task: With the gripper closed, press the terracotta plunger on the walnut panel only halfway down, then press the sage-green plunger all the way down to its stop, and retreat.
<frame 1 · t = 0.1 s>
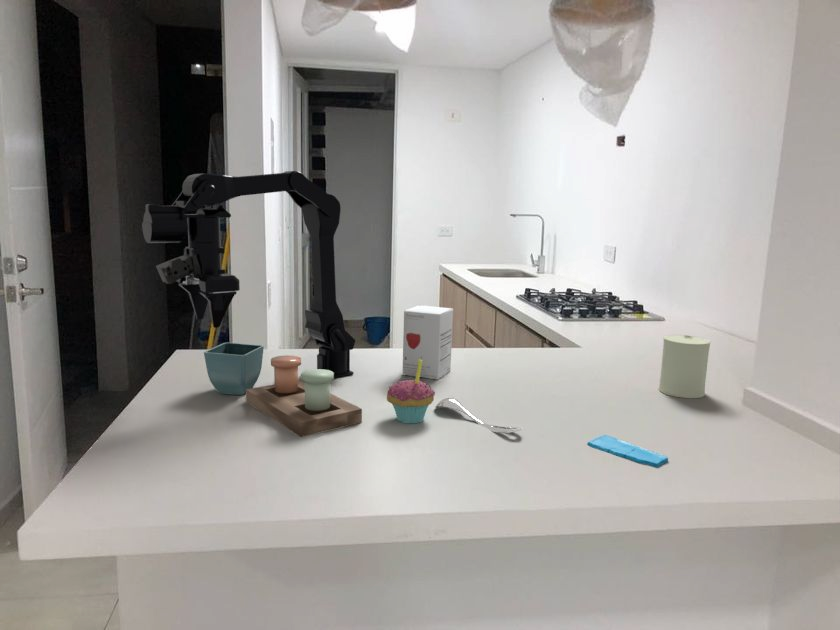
hand: (207, 323, 118), 15 cm above the countertop, tool pointing down, fingers open, 9 cm apart
flower pot: (235, 392, 124), on the countertop
blue flat block: (626, 456, 98), on the countertop
sage plunger: (317, 390, 107), point 6 cm above the countertop, slide at 0.0 cm
panel: (301, 411, 113), on the countertop
cupcake: (409, 420, 110), on the countertop
can: (681, 392, 131), on the countertop
supplement box: (426, 373, 141), on the countertop
terracotta plunger: (286, 374, 116), point 6 cm above the countertop, slide at 0.0 cm
silver spoon: (476, 424, 110), on the countertop
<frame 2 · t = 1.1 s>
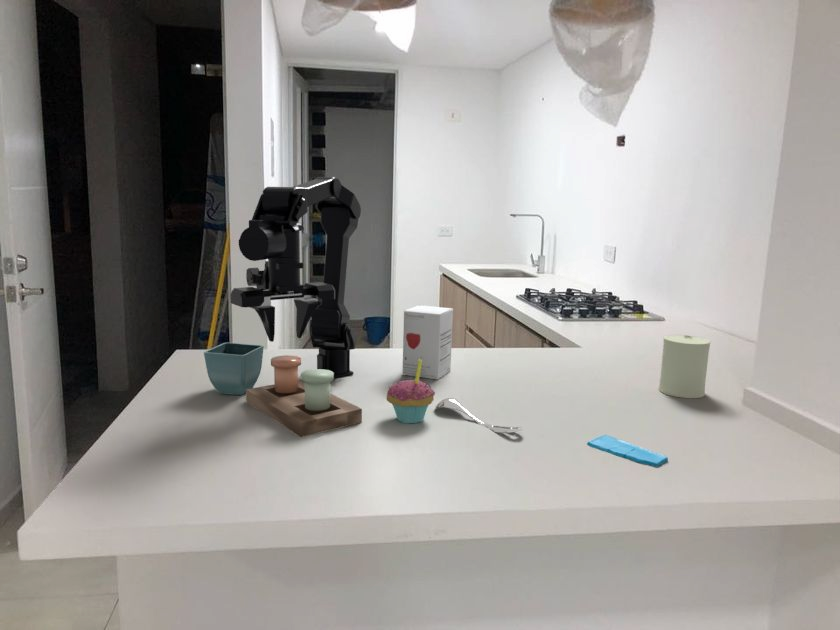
hand: (285, 339, 115), 12 cm above the countertop, tool pointing down, fingers open, 5 cm apart
nothing on the countertop moved.
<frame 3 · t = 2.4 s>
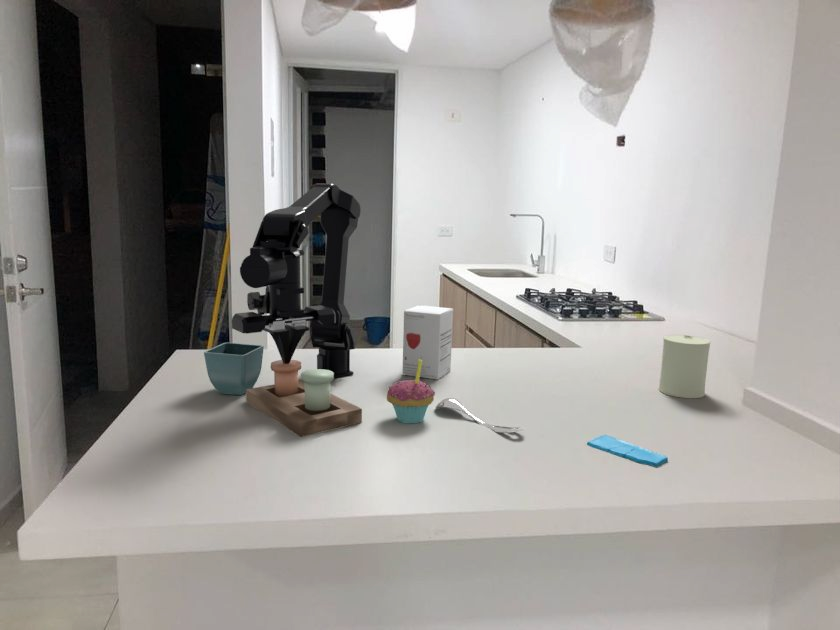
hand: (286, 363, 116), 8 cm above the countertop, tool pointing down, fingers closed, pressing on terracotta plunger
terracotta plunger: (286, 378, 116), point 5 cm above the countertop, slide at 0.8 cm, touching gripper
everything else where it was.
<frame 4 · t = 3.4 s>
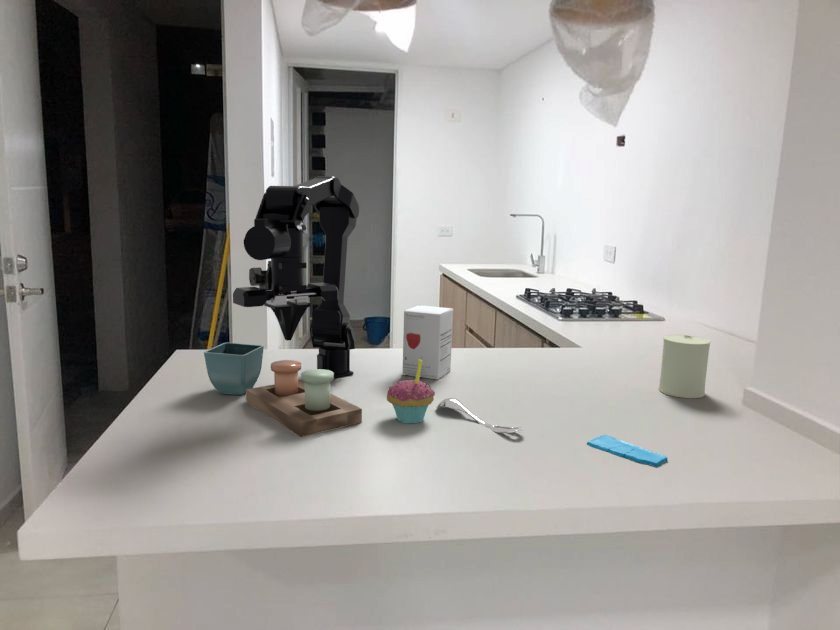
hand: (288, 340, 114), 13 cm above the countertop, tool pointing down, fingers closed
terracotta plunger: (286, 379, 116), point 5 cm above the countertop, slide at 0.9 cm
everything else where it was.
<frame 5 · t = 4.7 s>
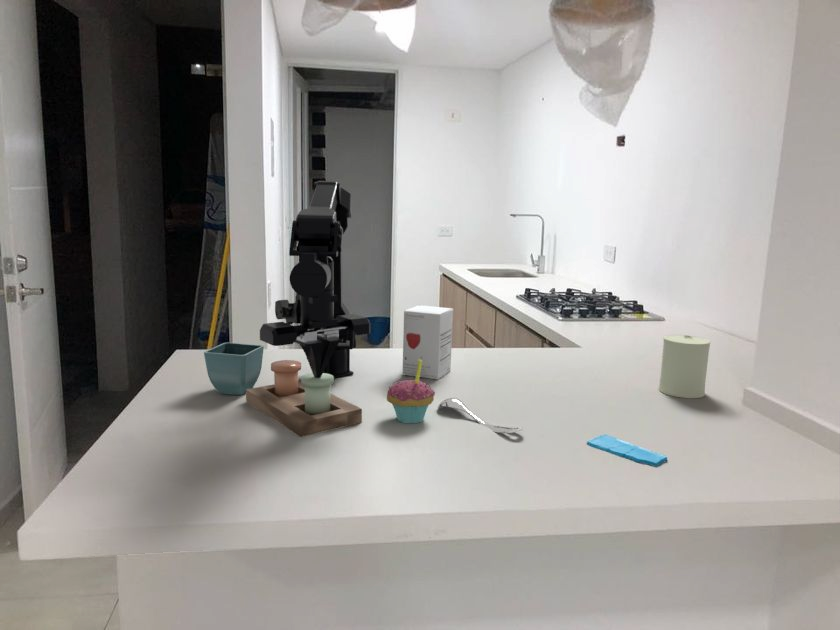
hand: (317, 377, 107), 8 cm above the countertop, tool pointing down, fingers closed, pressing on sage plunger
sage plunger: (317, 393, 107), point 5 cm above the countertop, slide at 0.7 cm, touching gripper
everything else where it was.
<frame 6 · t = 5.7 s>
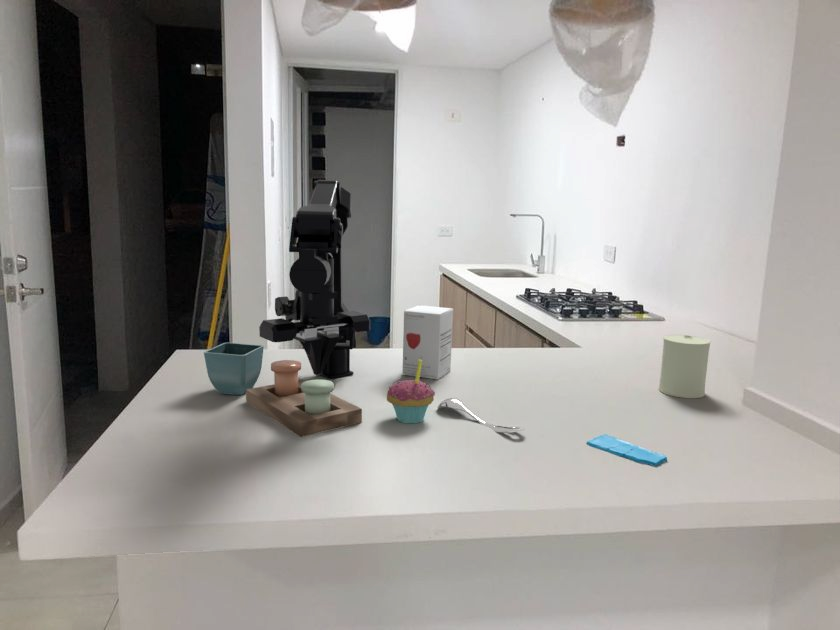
hand: (317, 374, 106), 9 cm above the countertop, tool pointing down, fingers closed
sage plunger: (317, 400, 107), point 4 cm above the countertop, slide at 1.9 cm
everything else where it was.
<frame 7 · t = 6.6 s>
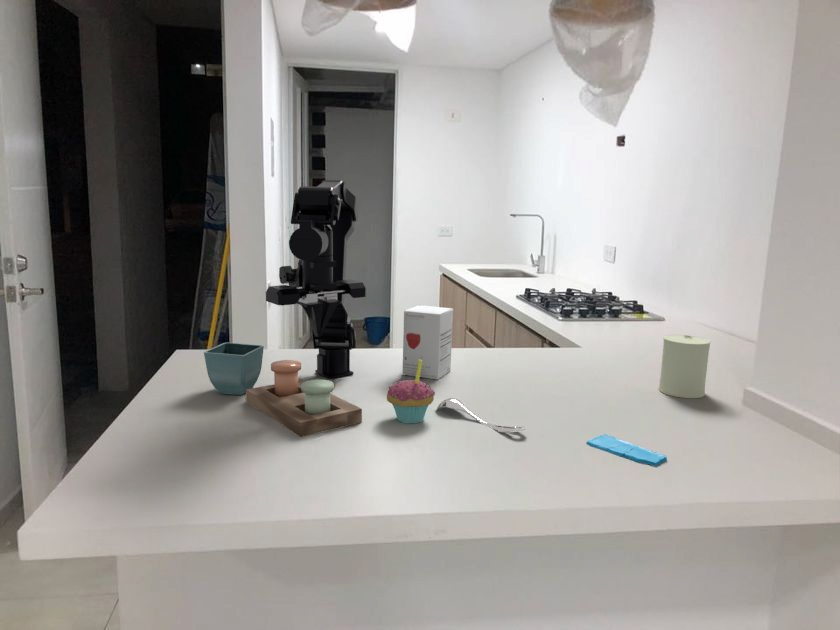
hand: (318, 336, 117), 13 cm above the countertop, tool pointing down, fingers closed
nothing on the countertop moved.
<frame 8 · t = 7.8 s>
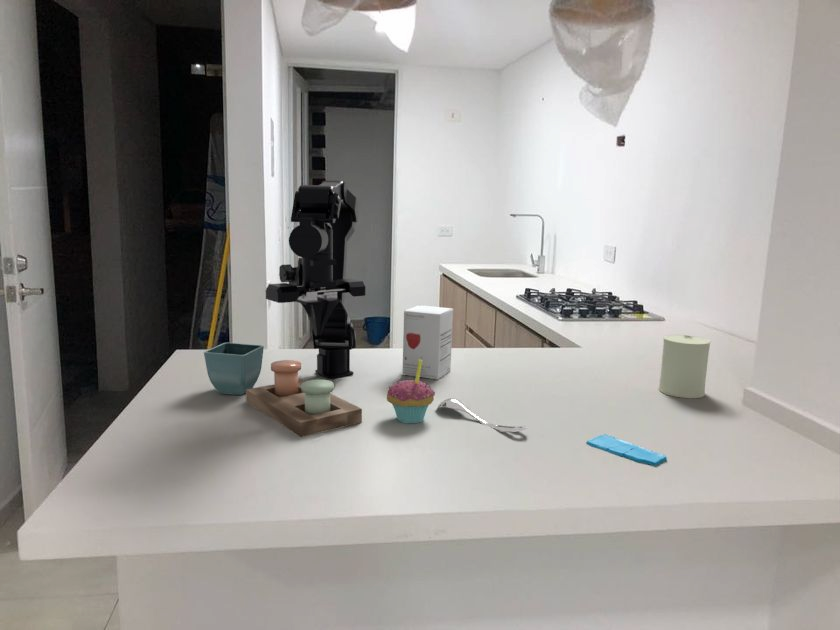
hand: (317, 334, 117), 13 cm above the countertop, tool pointing down, fingers closed
nothing on the countertop moved.
at the end: sage plunger slide at 1.9 cm; terracotta plunger slide at 0.9 cm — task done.
